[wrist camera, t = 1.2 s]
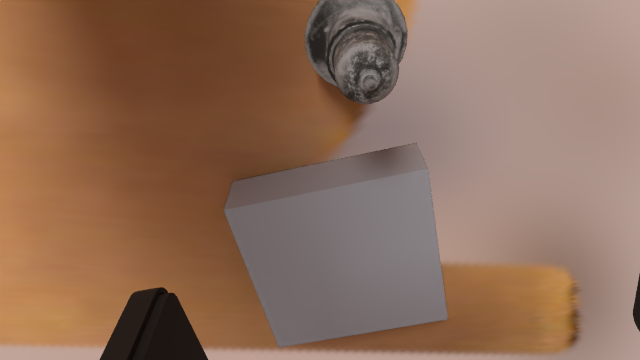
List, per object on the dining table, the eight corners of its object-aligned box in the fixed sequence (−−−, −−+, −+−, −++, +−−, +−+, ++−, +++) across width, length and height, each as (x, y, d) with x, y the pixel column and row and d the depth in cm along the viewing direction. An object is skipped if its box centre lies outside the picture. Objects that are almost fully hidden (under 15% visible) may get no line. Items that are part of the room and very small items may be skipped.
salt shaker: (415, 34, 29) (470, 95, 19) (343, 90, 31) (357, 174, 21) (361, -45, 27) (388, -24, 17) (286, 21, 29) (269, 76, 18)
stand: (232, 181, 35) (223, 210, 31) (416, 142, 33) (428, 168, 30) (282, 311, 41) (278, 347, 38) (436, 284, 40) (448, 319, 36)
